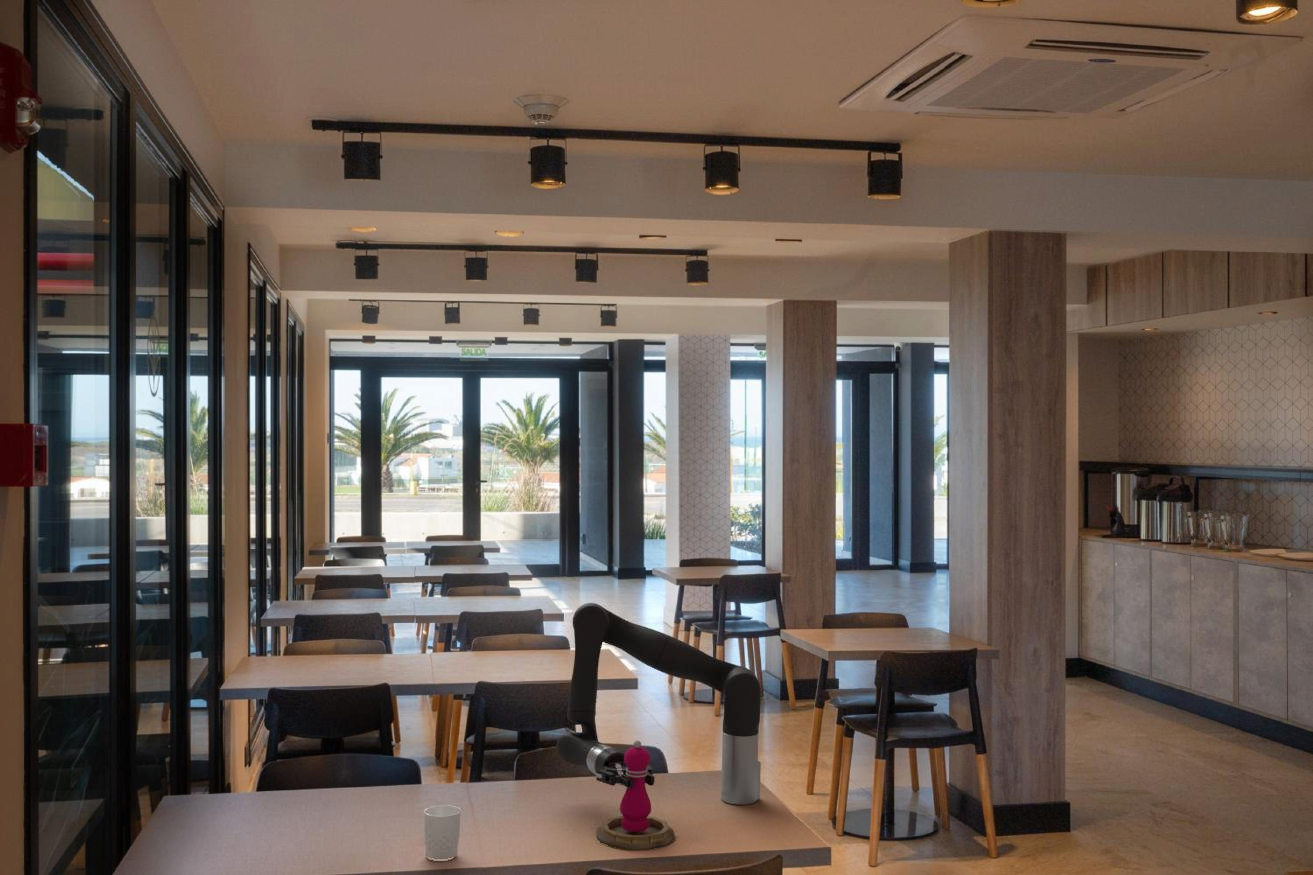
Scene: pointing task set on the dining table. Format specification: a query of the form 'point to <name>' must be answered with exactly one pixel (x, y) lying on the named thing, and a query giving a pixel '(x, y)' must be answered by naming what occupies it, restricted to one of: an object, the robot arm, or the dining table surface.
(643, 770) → the pepper mill
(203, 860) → the dining table surface
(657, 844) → the tray
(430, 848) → the white cup
